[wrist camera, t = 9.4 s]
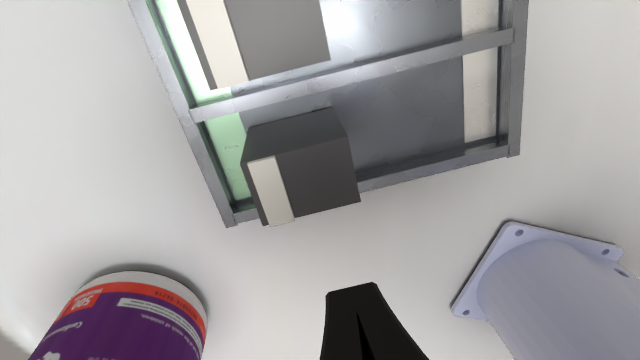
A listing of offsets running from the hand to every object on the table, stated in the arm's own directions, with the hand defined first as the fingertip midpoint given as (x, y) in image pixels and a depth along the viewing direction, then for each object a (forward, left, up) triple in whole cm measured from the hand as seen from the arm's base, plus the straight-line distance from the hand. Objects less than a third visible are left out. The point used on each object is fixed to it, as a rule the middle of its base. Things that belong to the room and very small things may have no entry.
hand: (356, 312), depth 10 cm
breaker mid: (+4, -6, -9) cm, 11 cm away
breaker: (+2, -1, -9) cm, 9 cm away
